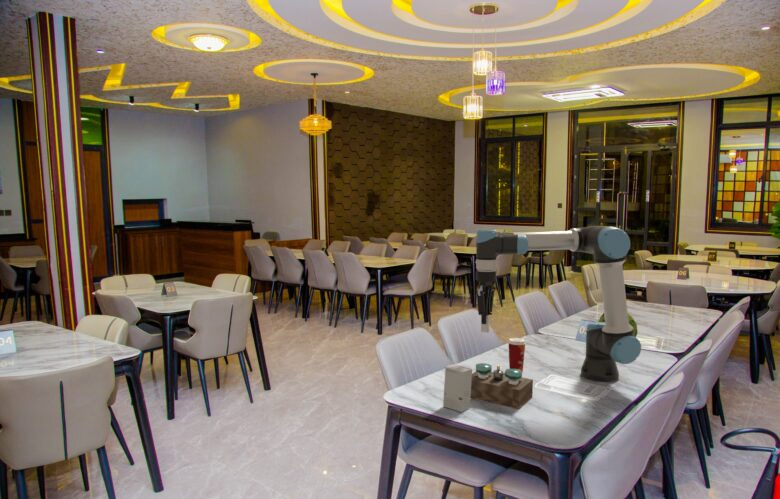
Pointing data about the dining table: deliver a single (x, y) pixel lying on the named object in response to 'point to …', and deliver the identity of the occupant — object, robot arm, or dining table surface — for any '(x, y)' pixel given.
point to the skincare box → (457, 387)
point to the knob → (483, 370)
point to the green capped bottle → (513, 376)
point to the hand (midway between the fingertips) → (485, 331)
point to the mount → (501, 391)
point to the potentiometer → (498, 374)
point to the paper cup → (516, 353)
